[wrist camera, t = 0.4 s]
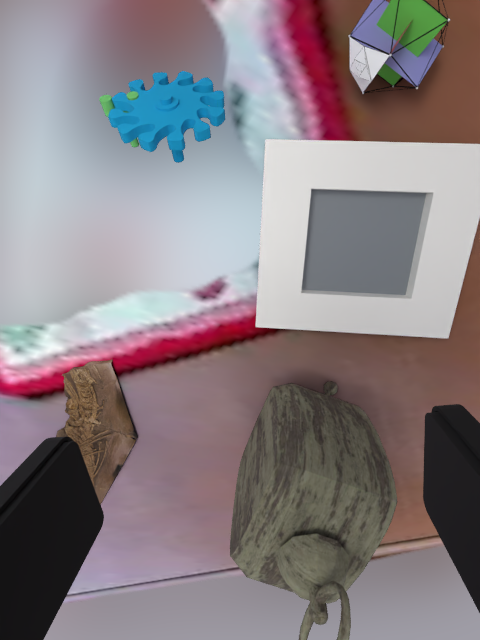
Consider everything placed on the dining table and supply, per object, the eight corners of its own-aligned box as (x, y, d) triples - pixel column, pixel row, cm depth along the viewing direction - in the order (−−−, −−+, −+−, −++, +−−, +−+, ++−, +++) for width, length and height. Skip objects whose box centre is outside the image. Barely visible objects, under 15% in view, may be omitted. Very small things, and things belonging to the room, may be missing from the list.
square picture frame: (265, 144, 32) (265, 139, 30) (480, 149, 31) (498, 144, 28) (256, 319, 38) (255, 327, 36) (436, 330, 37) (448, 338, 34)
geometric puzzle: (403, -54, 25) (389, -42, 21) (473, 3, 26) (474, 27, 21) (344, 50, 31) (322, 77, 27) (401, 94, 32) (390, 128, 27)
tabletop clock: (302, 466, 44) (342, 763, 21) (238, 444, 44) (204, 721, 20) (349, 375, 39) (472, 628, 16) (278, 350, 39) (294, 570, 15)
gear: (239, 71, 29) (202, 144, 25) (241, 135, 34) (210, 204, 30) (124, 56, 31) (71, 122, 26) (143, 119, 36) (101, 182, 32)
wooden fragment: (67, 346, 41) (62, 349, 40) (152, 370, 42) (149, 374, 41) (52, 495, 50) (48, 501, 49) (122, 515, 50) (119, 521, 49)
